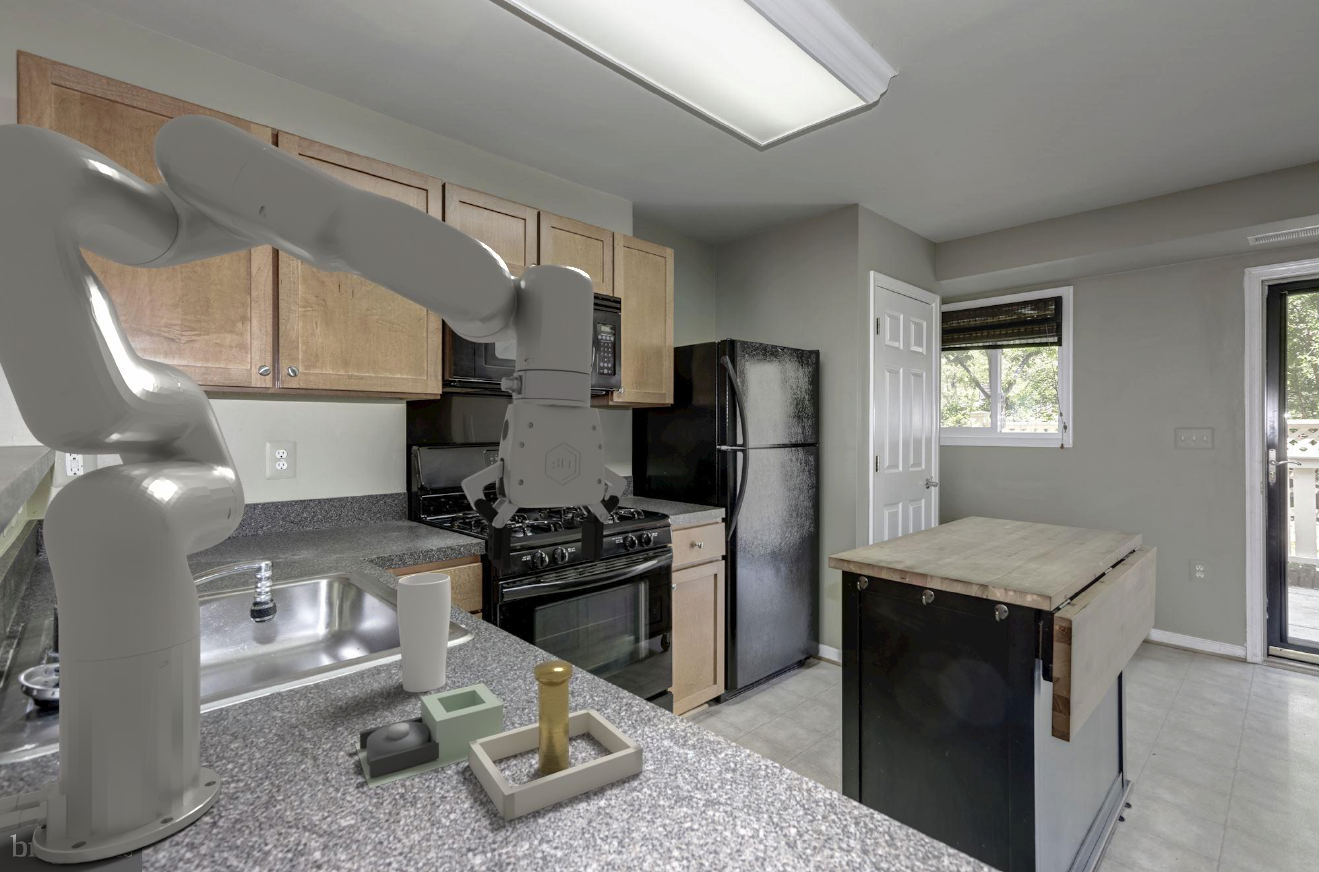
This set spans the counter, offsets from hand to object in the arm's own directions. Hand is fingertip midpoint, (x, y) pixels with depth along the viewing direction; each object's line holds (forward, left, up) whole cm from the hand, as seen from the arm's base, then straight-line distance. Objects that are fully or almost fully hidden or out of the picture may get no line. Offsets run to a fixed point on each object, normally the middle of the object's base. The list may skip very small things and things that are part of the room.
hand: (547, 563), depth 60 cm
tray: (+1, 0, -21) cm, 21 cm away
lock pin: (+1, 0, -21) cm, 21 cm away
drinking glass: (-5, +29, -22) cm, 36 cm away
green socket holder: (-8, +11, -21) cm, 25 cm away
